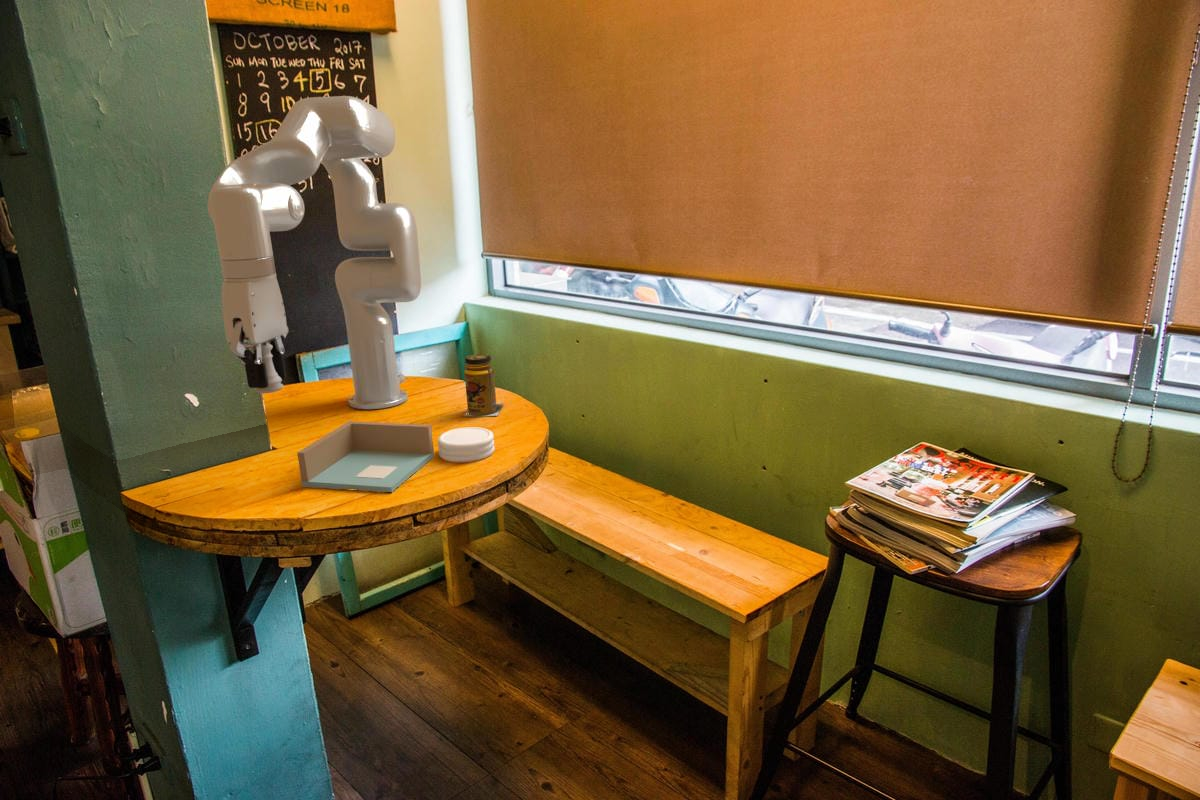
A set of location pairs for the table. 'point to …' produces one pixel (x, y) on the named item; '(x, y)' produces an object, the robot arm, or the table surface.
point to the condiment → (480, 387)
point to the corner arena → (366, 456)
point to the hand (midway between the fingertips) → (267, 381)
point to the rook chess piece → (269, 370)
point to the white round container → (466, 444)
